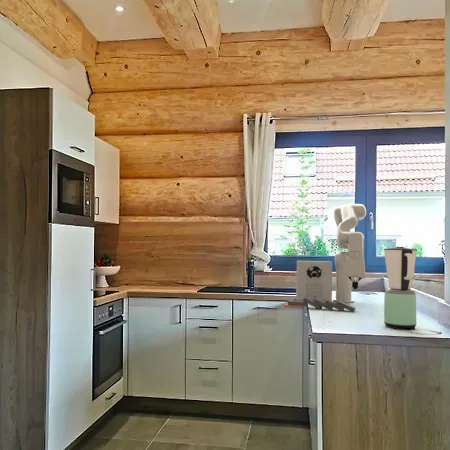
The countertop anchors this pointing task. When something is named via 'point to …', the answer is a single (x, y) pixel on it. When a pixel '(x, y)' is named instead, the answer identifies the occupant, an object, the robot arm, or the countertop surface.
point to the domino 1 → (293, 306)
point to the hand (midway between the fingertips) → (355, 289)
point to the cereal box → (314, 280)
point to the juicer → (400, 288)
